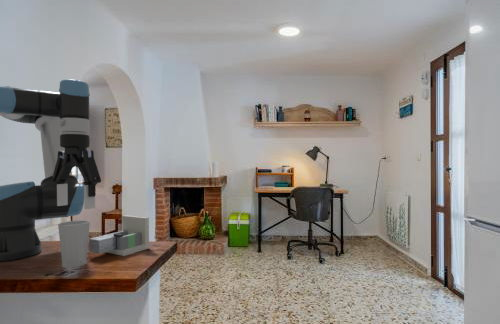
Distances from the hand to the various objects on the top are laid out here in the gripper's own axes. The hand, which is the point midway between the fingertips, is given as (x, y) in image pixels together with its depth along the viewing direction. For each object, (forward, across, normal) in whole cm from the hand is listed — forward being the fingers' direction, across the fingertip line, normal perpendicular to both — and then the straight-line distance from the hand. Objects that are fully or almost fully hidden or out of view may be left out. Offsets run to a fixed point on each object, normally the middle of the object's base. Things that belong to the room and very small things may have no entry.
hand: (75, 207), depth 90 cm
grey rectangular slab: (+15, +2, +9) cm, 18 cm away
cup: (+17, 0, 0) cm, 17 cm away
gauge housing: (+17, 0, +16) cm, 23 cm away
